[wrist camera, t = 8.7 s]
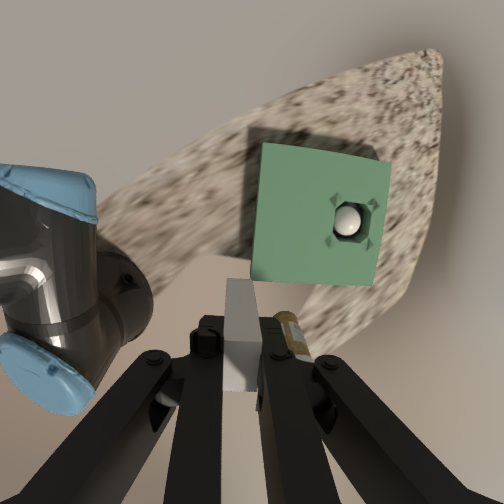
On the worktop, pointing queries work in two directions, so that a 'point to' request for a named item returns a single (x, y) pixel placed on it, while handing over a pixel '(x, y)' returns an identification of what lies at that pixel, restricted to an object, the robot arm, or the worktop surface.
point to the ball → (346, 220)
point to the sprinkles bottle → (294, 335)
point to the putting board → (316, 216)
